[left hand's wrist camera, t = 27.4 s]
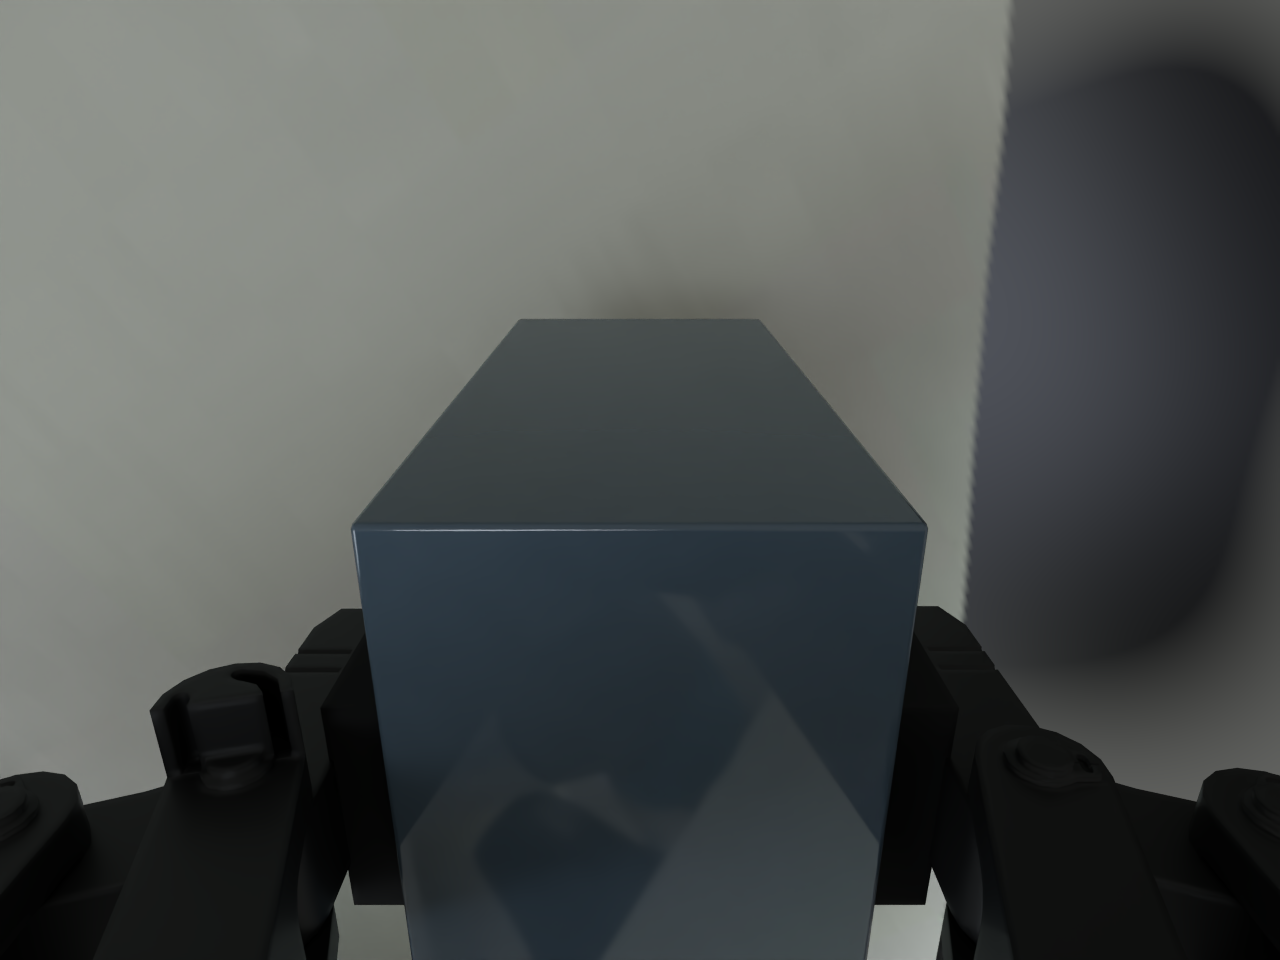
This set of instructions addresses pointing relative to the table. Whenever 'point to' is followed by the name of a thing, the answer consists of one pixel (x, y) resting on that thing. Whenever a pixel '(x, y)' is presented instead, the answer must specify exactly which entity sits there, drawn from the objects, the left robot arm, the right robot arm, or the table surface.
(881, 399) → the table surface
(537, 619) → the brick
